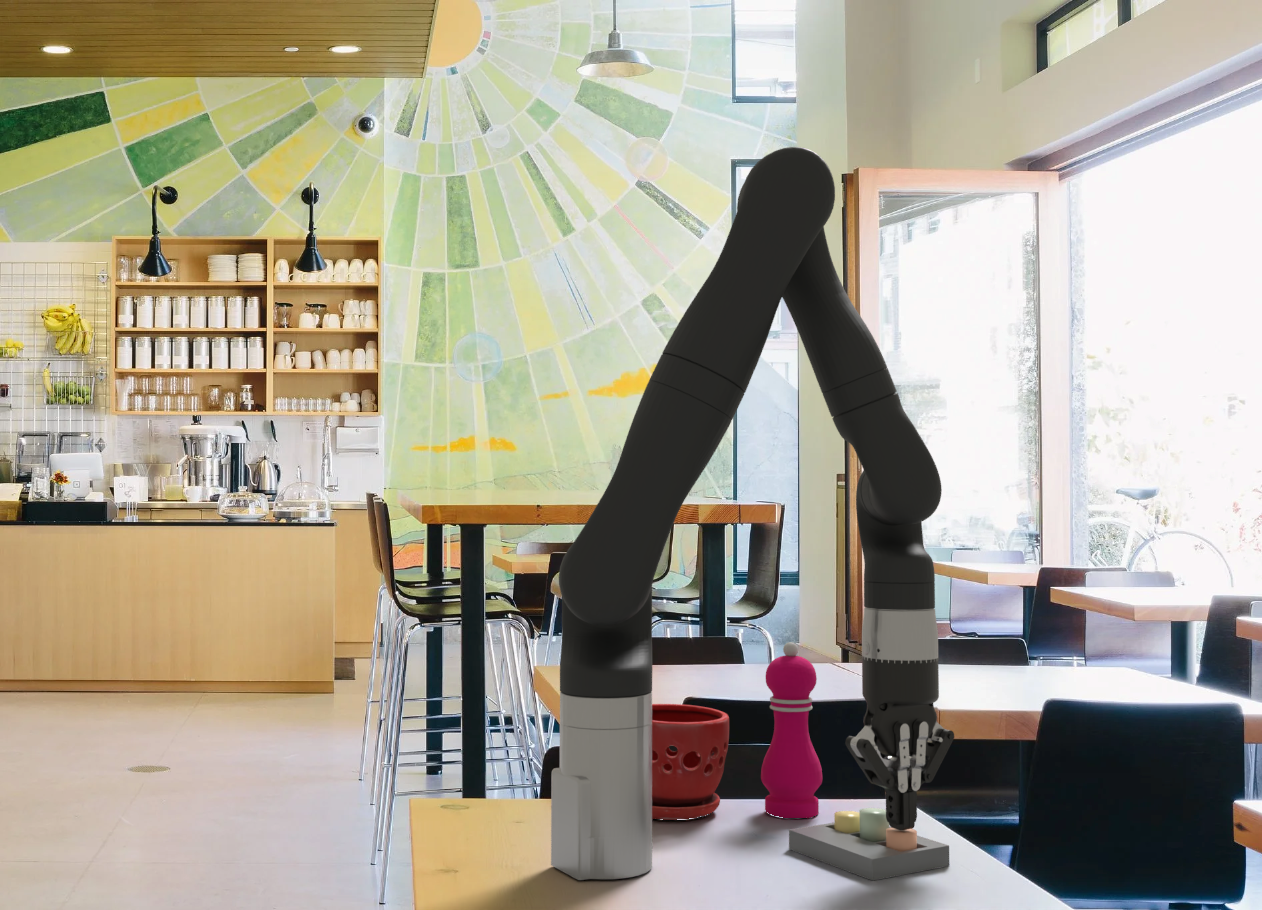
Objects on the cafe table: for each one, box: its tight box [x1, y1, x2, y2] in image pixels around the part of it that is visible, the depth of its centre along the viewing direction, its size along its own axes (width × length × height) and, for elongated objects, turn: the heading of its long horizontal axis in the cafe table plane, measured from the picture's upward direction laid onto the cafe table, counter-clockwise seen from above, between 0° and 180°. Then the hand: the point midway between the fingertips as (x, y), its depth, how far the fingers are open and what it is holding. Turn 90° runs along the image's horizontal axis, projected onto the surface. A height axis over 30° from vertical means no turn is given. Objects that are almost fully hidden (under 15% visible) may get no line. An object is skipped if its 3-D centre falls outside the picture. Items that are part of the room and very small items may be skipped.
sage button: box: [858, 807, 890, 842], centre depth 125 cm, size 3×3×3 cm
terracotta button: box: [886, 827, 918, 852], centre depth 121 cm, size 3×3×3 cm
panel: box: [788, 822, 950, 881], centre depth 124 cm, size 10×13×2 cm
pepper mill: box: [760, 641, 823, 819], centre depth 144 cm, size 7×7×20 cm
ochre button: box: [833, 810, 860, 834], centre depth 128 cm, size 3×3×3 cm
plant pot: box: [652, 703, 730, 820], centre depth 143 cm, size 13×13×12 cm
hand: (901, 827), depth 121 cm, fingers closed
